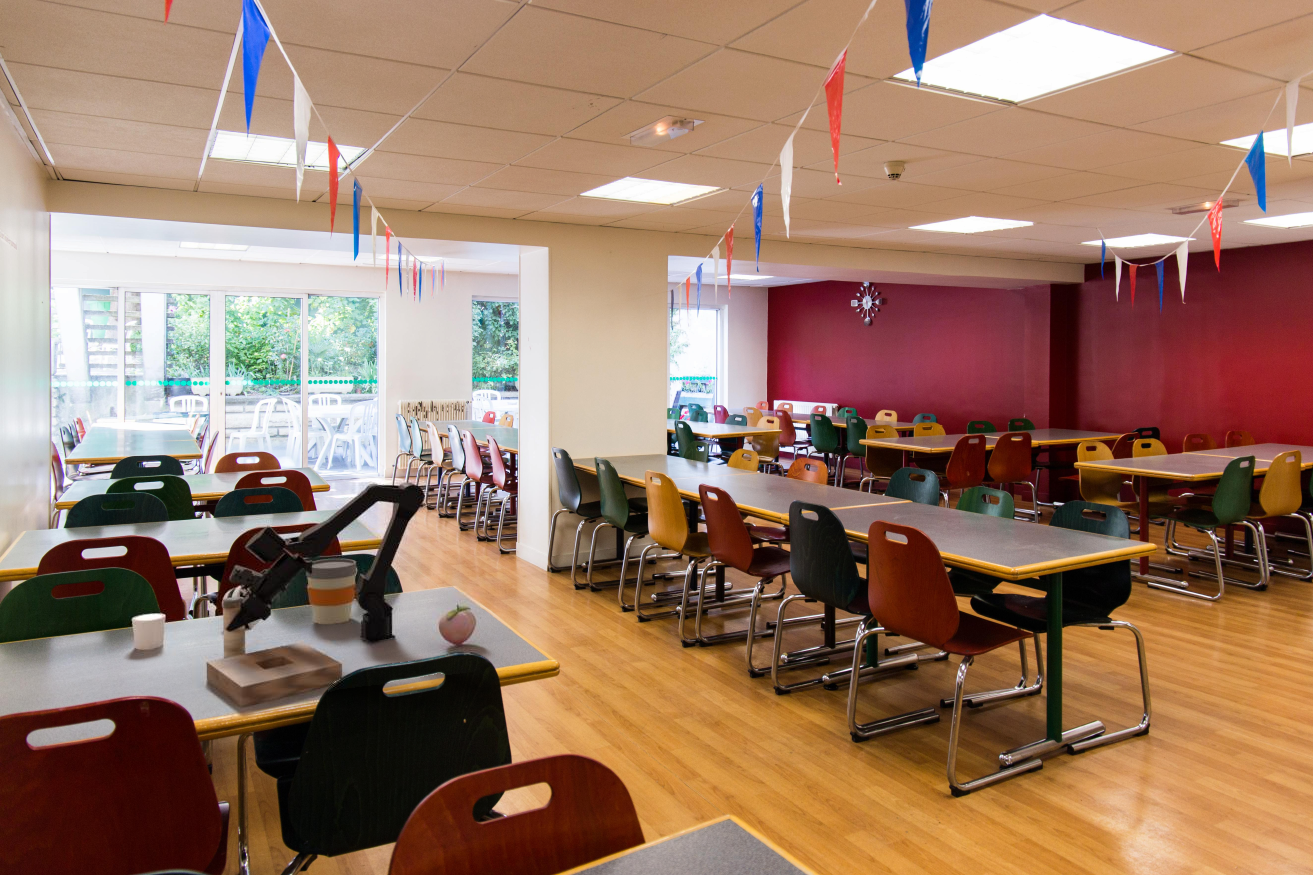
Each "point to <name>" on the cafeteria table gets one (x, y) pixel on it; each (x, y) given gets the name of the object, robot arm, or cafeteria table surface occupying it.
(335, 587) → the reusable coffee cup
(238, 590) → the hinge
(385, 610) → the robot arm
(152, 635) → the white short cylinder
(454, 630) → the decorative fruit
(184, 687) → the cafeteria table surface
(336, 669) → the socket block
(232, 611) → the beech pin
